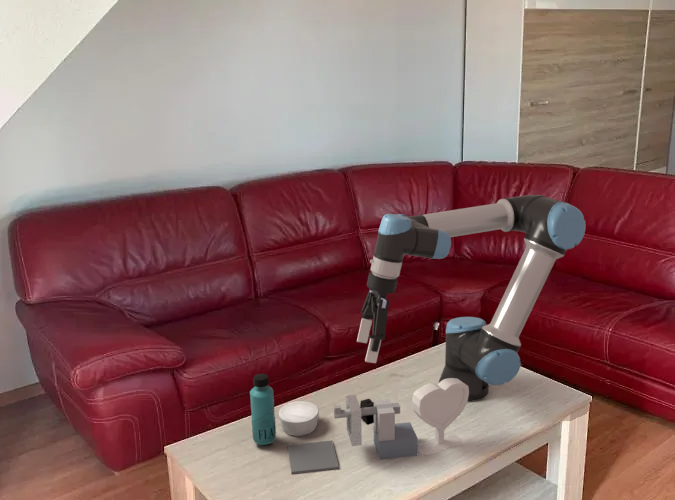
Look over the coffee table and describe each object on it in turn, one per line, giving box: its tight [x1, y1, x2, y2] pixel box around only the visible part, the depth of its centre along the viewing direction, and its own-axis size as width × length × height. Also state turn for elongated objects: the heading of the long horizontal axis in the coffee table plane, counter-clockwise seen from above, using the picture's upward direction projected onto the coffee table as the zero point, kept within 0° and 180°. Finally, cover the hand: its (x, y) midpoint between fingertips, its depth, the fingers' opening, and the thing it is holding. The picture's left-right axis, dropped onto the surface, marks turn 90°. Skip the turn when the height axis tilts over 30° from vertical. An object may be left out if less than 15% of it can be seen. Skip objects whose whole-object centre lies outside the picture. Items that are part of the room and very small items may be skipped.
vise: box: [333, 398, 419, 460], centre depth 175 cm, size 21×8×14 cm, turn 99°
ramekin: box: [278, 400, 320, 437], centre depth 188 cm, size 11×11×5 cm
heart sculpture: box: [411, 378, 469, 456], centre depth 176 cm, size 16×5×18 cm, turn 117°
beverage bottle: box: [249, 373, 277, 446], centre depth 178 cm, size 6×7×20 cm
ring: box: [345, 394, 363, 447], centre depth 173 cm, size 2×8×10 cm, turn 9°
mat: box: [287, 440, 340, 475], centre depth 174 cm, size 12×12×1 cm
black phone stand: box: [359, 398, 374, 426], centre depth 193 cm, size 12×7×5 cm, turn 26°
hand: (366, 351), depth 175 cm, fingers open, 13 cm apart
